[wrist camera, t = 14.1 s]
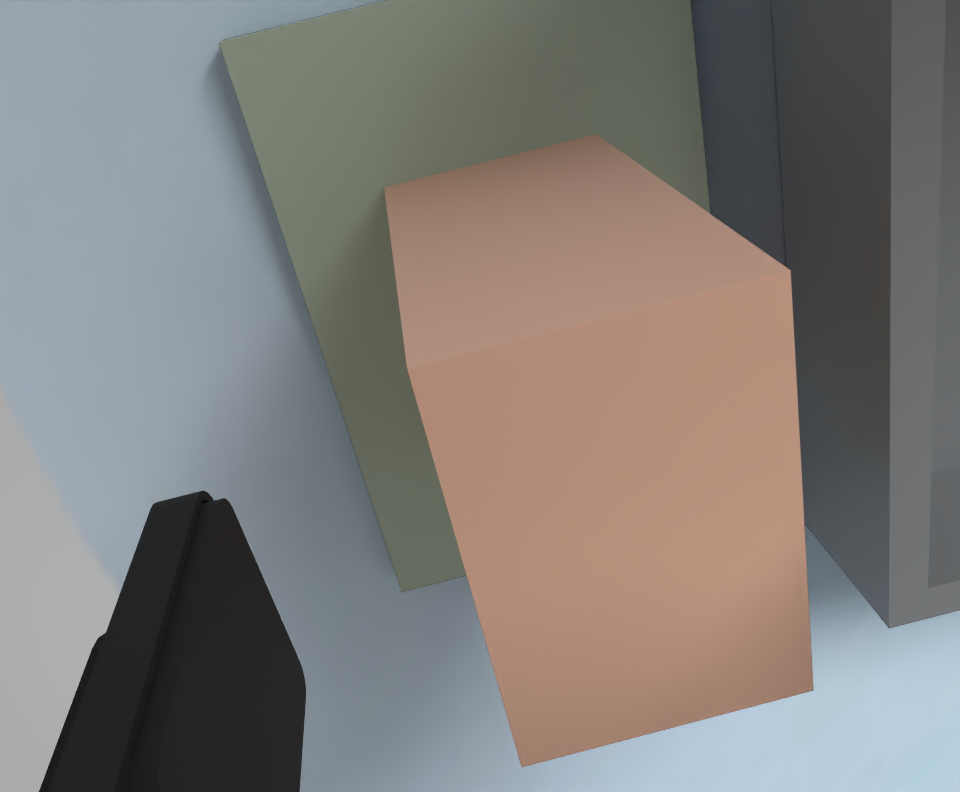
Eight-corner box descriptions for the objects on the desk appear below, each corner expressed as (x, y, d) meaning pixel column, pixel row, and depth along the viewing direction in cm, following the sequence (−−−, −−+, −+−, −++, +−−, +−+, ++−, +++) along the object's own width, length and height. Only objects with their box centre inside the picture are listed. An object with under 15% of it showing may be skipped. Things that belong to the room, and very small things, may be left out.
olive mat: (223, 39, 15) (218, 43, 14) (672, -71, 15) (683, -72, 15) (400, 575, 20) (401, 591, 20) (728, 491, 21) (738, 505, 20)
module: (383, 187, 16) (407, 368, 9) (596, 134, 16) (790, 270, 9) (458, 460, 19) (521, 767, 11) (639, 414, 19) (813, 689, 12)
